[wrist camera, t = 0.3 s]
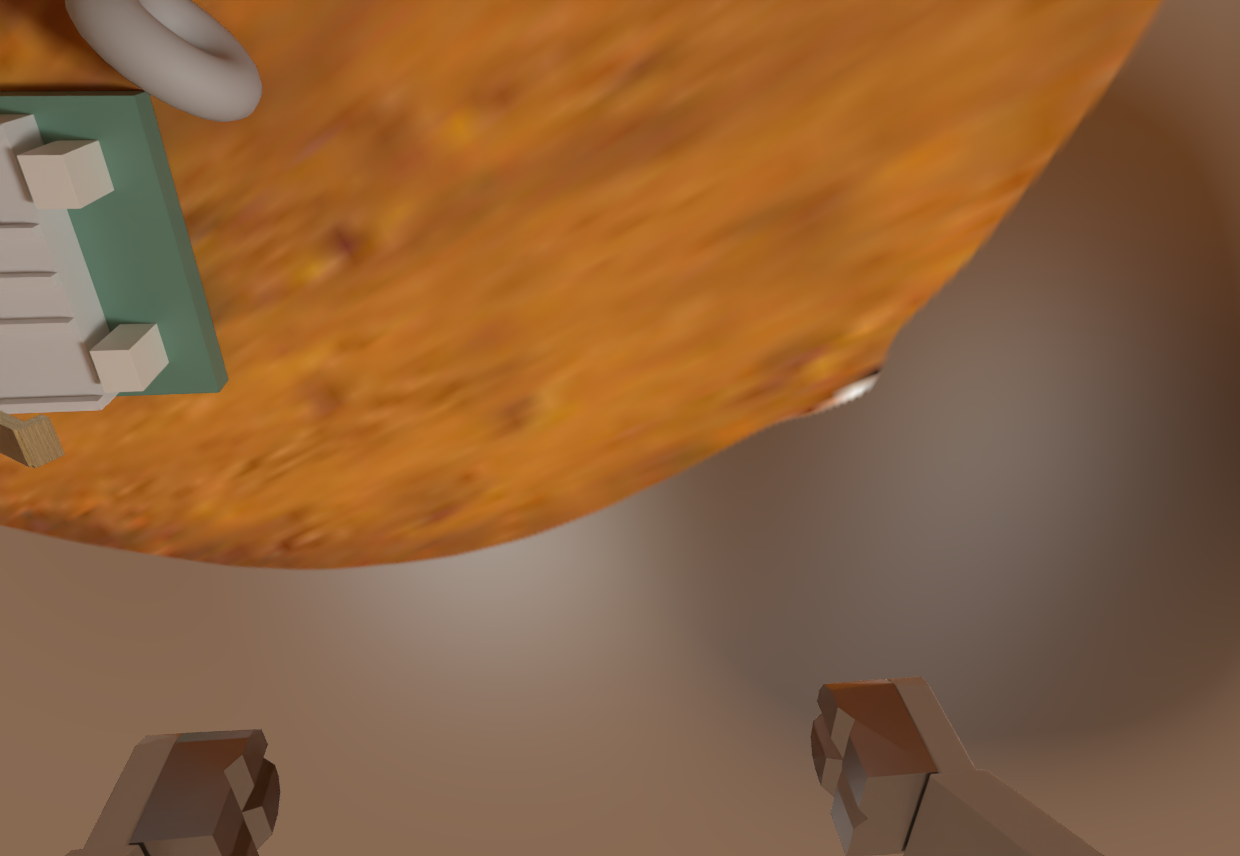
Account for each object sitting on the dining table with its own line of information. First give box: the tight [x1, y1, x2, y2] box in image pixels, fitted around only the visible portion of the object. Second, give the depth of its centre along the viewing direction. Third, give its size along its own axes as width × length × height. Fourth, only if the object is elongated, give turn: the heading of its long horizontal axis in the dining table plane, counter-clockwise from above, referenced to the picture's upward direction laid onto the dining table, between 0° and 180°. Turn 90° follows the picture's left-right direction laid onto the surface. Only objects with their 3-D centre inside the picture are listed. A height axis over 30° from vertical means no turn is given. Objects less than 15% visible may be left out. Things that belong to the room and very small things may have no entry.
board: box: [0, 91, 228, 414], centre depth 49 cm, size 20×19×8 cm
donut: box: [65, 0, 262, 122], centre depth 43 cm, size 10×4×10 cm, turn 47°
